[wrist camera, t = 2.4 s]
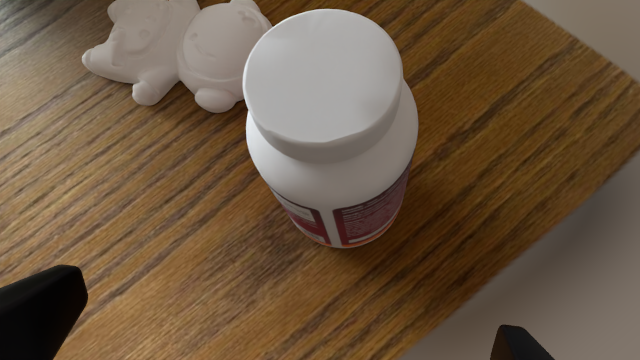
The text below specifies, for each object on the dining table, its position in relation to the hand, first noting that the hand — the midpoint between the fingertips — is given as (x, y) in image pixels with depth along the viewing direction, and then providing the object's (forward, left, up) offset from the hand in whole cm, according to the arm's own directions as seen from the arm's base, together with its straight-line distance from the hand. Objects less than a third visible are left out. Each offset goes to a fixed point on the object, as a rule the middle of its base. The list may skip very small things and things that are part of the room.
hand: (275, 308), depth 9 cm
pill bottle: (+5, -4, -12) cm, 14 cm away
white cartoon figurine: (+18, +1, -12) cm, 22 cm away
